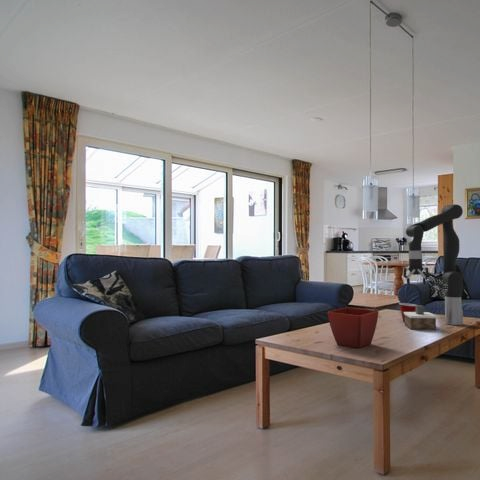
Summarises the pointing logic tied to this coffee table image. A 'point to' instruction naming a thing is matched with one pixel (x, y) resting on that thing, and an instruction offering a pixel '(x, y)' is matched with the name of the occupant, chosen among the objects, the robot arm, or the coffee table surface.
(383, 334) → the coffee table surface
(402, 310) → the plastic cup
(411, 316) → the cream lid
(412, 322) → the walnut box
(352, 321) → the plant pot
